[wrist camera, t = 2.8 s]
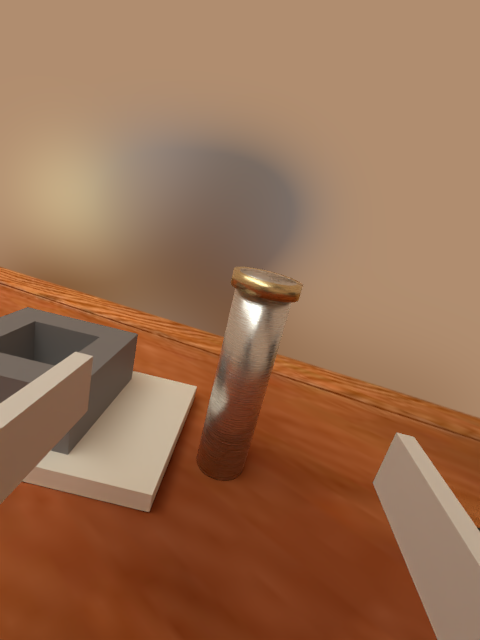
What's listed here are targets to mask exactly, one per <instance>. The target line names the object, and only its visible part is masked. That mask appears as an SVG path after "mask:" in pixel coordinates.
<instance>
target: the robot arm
mask: <svg viewBox="0 0 480 640" xmlns="http://www.w3.org/2000/svg"><path fill="white" fill-rule="evenodd" d="M92 363H93V356H91V355H87V354H83V353H79V352H74V353H73V354H71V355H70V356H68V357H67V358H65V359H64V360H63V361H61V362H60V363H58V364H57V365H55V366H54V367H52V368H51V369H50V370H48V371H47V372H45V373H44V374H42V375H41V376H39V377H38V378H36V379H35V380H34V381H32V382H31V383H29V384H28V385H26V386H25V387H23V388H22V389H20V390H19V391H18V392H16V393H15V394H13V395H12V396H10V397H9V398H7V399H6V400H5V401H3V402H2V403H0V504H1V503H2V502H3V501H4V500H5V499H6V498H7V497H8V496H9V495H10V493H11V492H12V491H13V490H14V489H15V488H16V487H17V486H18V485H19V484H20V483H21V482H22V481H23V480H24V478H25V477H26V476H27V475H28V474H29V473H30V472H31V471H32V470H33V469H34V468H35V467H36V466H37V465H38V463H39V462H40V461H41V460H42V459H43V458H44V457H45V456H46V455H47V454H48V453H49V452H50V451H51V450H52V448H53V447H54V446H55V445H56V444H57V443H58V442H59V441H60V440H61V439H62V438H63V437H64V436H65V435H66V433H67V432H68V431H69V430H70V429H71V428H72V427H73V426H74V425H75V424H76V423H77V422H78V421H79V420H80V418H81V417H82V416H83V415H84V414H85V413H86V412H87V411H88V401H89V392H90V382H91V373H92ZM373 485H374V487H375V490H376V492H377V494H378V497H379V499H380V502H381V504H382V506H383V509H384V511H385V514H386V516H387V519H388V521H389V523H390V526H391V528H392V531H393V533H394V536H395V538H396V540H397V543H398V545H399V548H400V550H401V552H402V555H403V557H404V560H405V562H406V565H407V567H408V569H409V572H410V574H411V577H412V579H413V582H414V584H415V586H416V589H417V591H418V594H419V596H420V598H421V601H422V603H423V606H424V608H425V611H426V613H427V615H428V618H429V620H430V623H431V625H432V628H433V630H434V632H435V635H436V637H437V640H480V528H477V527H476V526H475V524H474V523H473V521H472V520H471V518H470V517H469V516H468V514H467V513H466V511H465V510H464V508H463V507H462V505H461V504H460V503H459V501H458V500H457V498H456V497H455V495H454V494H453V492H452V491H451V490H450V488H449V487H448V485H447V484H446V482H445V481H444V479H443V478H442V477H441V475H440V474H439V472H438V471H437V469H436V468H435V466H434V465H433V464H432V462H431V461H430V459H429V458H428V456H427V455H426V453H425V452H424V451H423V449H422V448H421V446H420V445H419V443H418V442H417V440H416V439H415V438H414V437H412V436H409V435H405V434H401V433H397V432H396V434H395V436H394V439H393V441H392V443H391V445H390V447H389V449H388V451H387V454H386V456H385V458H384V460H383V462H382V464H381V466H380V468H379V471H378V473H377V475H376V477H375V479H374V481H373Z"/></svg>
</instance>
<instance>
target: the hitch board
mask: <svg viewBox="0 0 480 640" xmlns="http://www.w3.org/2000/svg"><path fill="white" fill-rule="evenodd" d="M137 336H138V334H136V333H131V332H127V331H123V330H119V329H115V328H111V327H107V326H103V325H98V324H94V323H90V322H86V321H82V320H78V319H74V318H70V317H66V316H61V315H57V314H53V313H49V312H45V311H41V310H37V309H33V308H29V307H27V308H24V309H22V310H19V311H16V312H14V313H11V314H8V315H5V316H3V317H0V403H2V402H3V401H5V400H6V399H7V398H9V397H10V396H12V395H13V394H15V393H16V392H18V391H19V390H20V389H22V388H23V387H25V386H26V385H28V384H29V383H31V382H32V381H34V380H35V379H36V378H38V377H39V376H41V375H42V374H44V373H45V372H47V371H48V370H50V369H51V368H52V367H54V366H55V365H57V364H58V363H60V362H61V361H63V360H64V359H65V358H67V357H68V356H70V355H71V354H73V353H74V352H79V353H83V354H87V355H91V356H93V363H92V373H91V382H90V392H89V401H88V411H87V412H86V413H85V414H84V415H83V416H82V417H81V418H80V420H79V421H78V422H77V423H76V424H75V425H74V426H73V427H72V428H71V429H70V430H69V431H68V432H67V433H66V435H65V436H64V437H63V438H62V439H61V440H60V441H59V442H58V443H57V444H56V445H55V446H54V447H53V448H52V450H51V451H50V452H49V453H48V454H47V455H46V456H45V457H44V458H43V459H42V460H41V461H40V462H39V463H38V465H37V466H36V467H35V468H34V469H33V470H32V471H31V472H30V473H29V474H28V475H27V476H26V477H25V478H24V480H23V482H27V483H31V484H35V485H39V486H43V487H48V488H52V489H56V490H60V491H64V492H68V493H72V494H76V495H80V496H84V497H88V498H92V499H97V500H101V501H105V502H109V503H113V504H117V505H121V506H125V507H129V508H133V509H137V510H141V511H146V512H149V511H150V509H151V506H152V504H153V501H154V499H155V496H156V494H157V491H158V489H159V486H160V484H161V481H162V479H163V476H164V474H165V471H166V468H167V466H168V463H169V461H170V458H171V456H172V453H173V451H174V448H175V446H176V443H177V441H178V438H179V436H180V433H181V431H182V428H183V426H184V423H185V421H186V418H187V416H188V413H189V410H190V408H191V405H192V403H193V400H194V397H195V393H196V388H197V386H193V385H188V384H184V383H180V382H176V381H172V380H168V379H164V378H160V377H156V376H152V375H147V374H143V373H139V372H135V371H133V365H134V358H135V351H136V343H137Z"/></svg>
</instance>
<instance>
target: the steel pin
mask: <svg viewBox="0 0 480 640" xmlns="http://www.w3.org/2000/svg"><path fill="white" fill-rule="evenodd" d="M231 285H232V286H233V287H235V293H234V297H233V301H232V306H231V310H230V314H229V319H228V323H227V328H226V332H225V336H224V341H223V345H222V349H221V354H220V358H219V362H218V367H217V371H216V375H215V380H214V384H213V389H212V393H211V397H210V402H209V406H208V410H207V415H206V419H205V423H204V428H203V432H202V436H201V441H200V445H199V449H198V454H197V464H198V466H199V468H200V470H201V471H202V472H203V473H204V474H206V475H207V476H209V477H211V478H213V479H216V480H222V481H227V480H232V479H235V478H236V477H238V476H239V475H240V474H241V473H242V471H243V468H244V464H245V461H246V458H247V454H248V451H249V447H250V444H251V440H252V437H253V434H254V430H255V427H256V423H257V420H258V416H259V413H260V409H261V406H262V403H263V399H264V396H265V392H266V389H267V385H268V382H269V379H270V375H271V372H272V368H273V365H274V361H275V358H276V355H277V351H278V348H279V344H280V341H281V337H282V334H283V330H284V327H285V324H286V320H287V317H288V313H289V310H290V306H291V303H292V302H296V301H298V300H299V297H300V293H301V290H302V287H303V285H302V284H301V283H300V282H298V281H296V280H294V279H292V278H289V277H287V276H284V275H280V274H277V273H274V272H270V271H266V270H261V269H256V268H250V267H235V268H234V271H233V275H232V280H231Z"/></svg>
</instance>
